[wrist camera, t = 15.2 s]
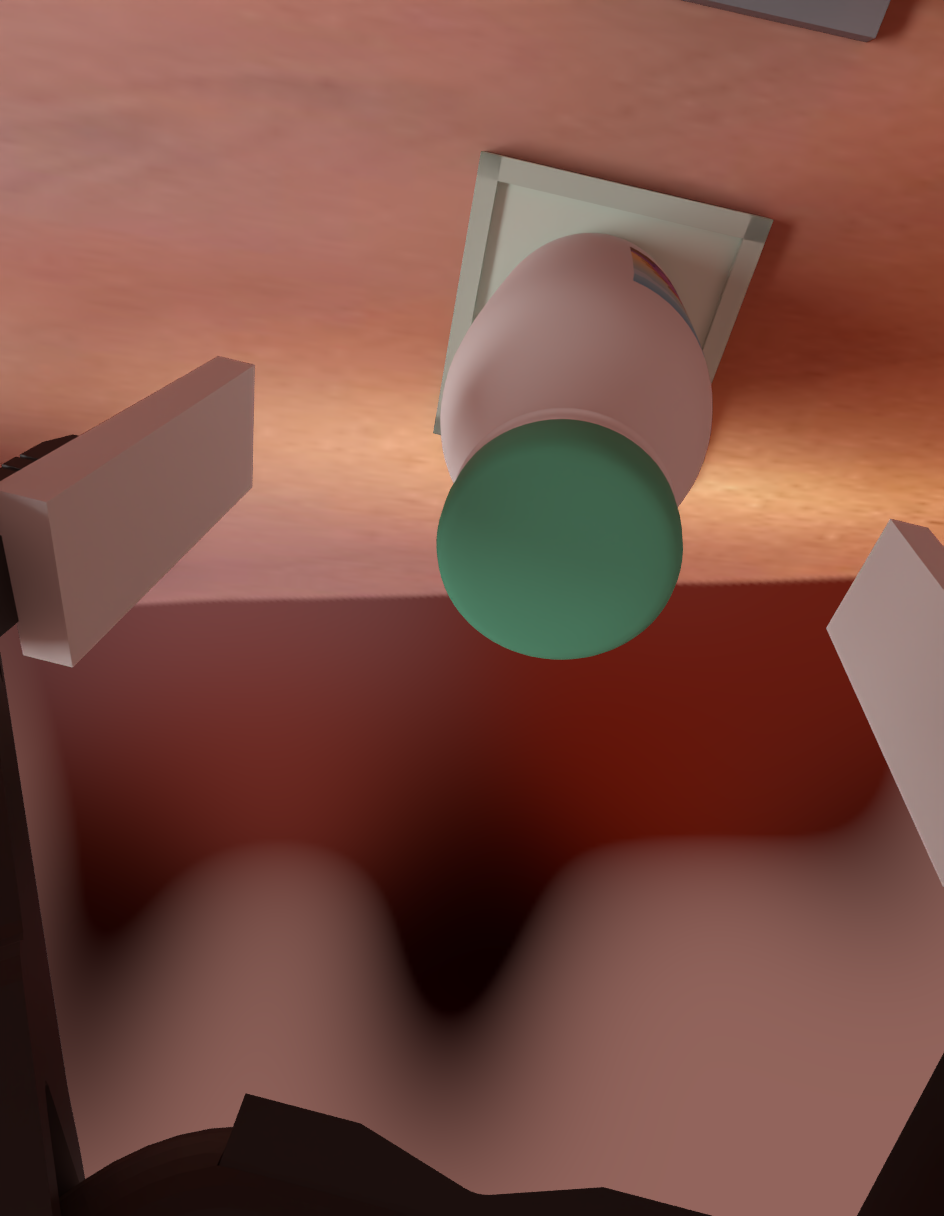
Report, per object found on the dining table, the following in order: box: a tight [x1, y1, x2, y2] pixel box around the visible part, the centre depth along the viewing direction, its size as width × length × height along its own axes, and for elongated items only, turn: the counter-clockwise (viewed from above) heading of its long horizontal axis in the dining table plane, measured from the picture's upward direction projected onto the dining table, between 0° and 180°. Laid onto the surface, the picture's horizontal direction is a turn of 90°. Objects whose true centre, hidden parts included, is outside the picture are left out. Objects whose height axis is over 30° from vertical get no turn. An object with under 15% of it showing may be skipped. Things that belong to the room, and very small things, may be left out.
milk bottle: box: [437, 233, 713, 659], centre depth 22 cm, size 8×8×20 cm
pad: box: [433, 151, 773, 435], centre depth 30 cm, size 11×11×1 cm
